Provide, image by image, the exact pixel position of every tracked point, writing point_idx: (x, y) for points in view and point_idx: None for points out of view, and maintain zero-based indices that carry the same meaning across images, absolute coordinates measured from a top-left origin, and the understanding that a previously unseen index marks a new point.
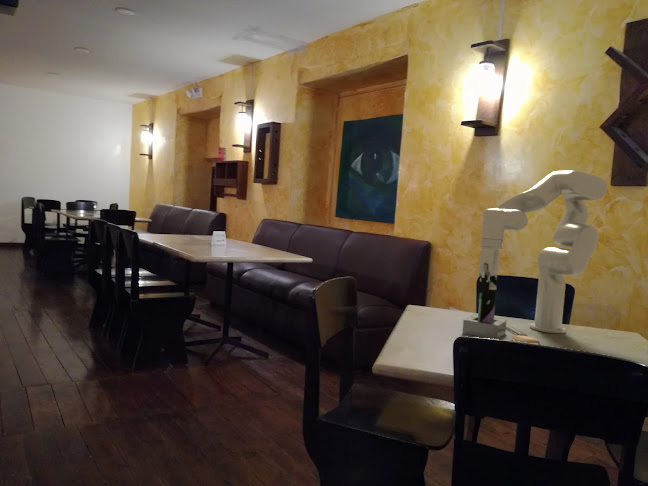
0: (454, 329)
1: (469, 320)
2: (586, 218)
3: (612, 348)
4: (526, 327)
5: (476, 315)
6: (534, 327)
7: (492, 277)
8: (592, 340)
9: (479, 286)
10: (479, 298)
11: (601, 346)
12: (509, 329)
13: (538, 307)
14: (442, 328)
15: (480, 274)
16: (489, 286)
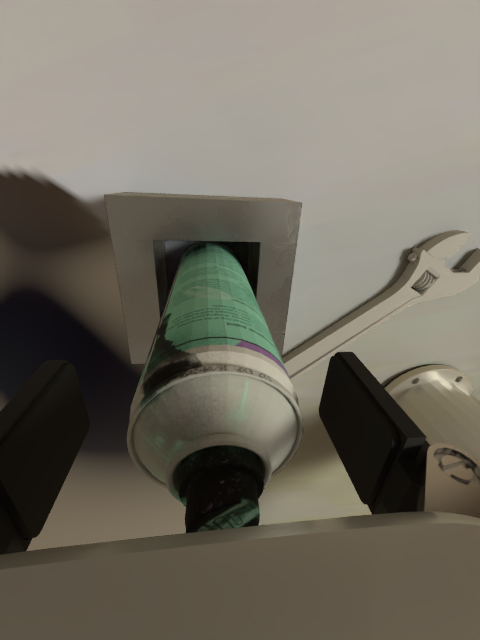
0: (179, 127)
1: (118, 230)
2: None
3: (295, 515)
4: (417, 357)
5: (290, 224)
6: (394, 386)
7: (409, 511)
8: (348, 485)
9: (8, 403)
10: (193, 298)
11: (298, 503)
12: (328, 332)
13: (460, 445)
14: (144, 50)
15: (84, 548)
16: (139, 466)
